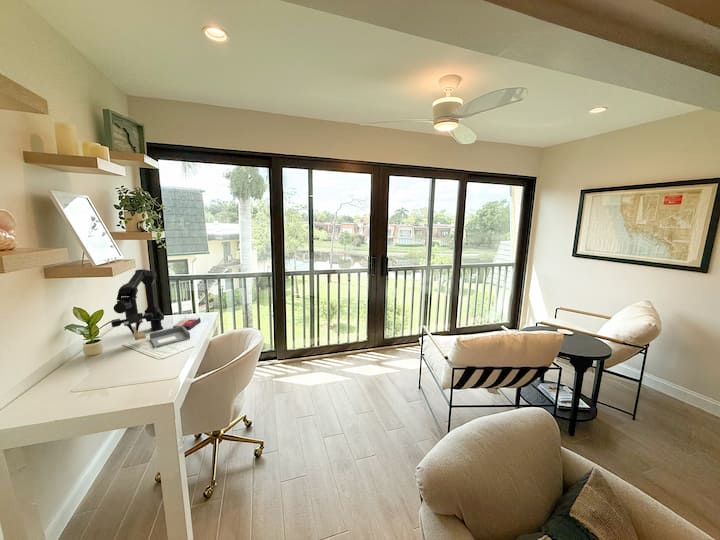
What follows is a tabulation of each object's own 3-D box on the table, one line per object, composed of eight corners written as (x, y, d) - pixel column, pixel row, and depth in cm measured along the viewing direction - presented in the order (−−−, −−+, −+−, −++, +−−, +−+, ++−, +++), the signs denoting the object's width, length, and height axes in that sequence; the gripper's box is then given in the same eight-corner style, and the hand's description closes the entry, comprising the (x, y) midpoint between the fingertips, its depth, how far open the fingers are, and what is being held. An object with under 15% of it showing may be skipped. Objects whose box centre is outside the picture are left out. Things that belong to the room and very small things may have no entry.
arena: (150, 339, 176) (149, 333, 176) (183, 331, 189) (183, 325, 188) (154, 348, 165) (153, 341, 164) (190, 338, 177) (189, 332, 176)
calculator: (172, 326, 189) (184, 317, 204) (173, 332, 190) (185, 322, 205) (189, 325, 190) (200, 316, 205) (190, 331, 191) (201, 322, 206)
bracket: (133, 336, 170) (132, 326, 169) (144, 333, 174) (142, 324, 173) (135, 340, 165) (133, 330, 164) (146, 337, 168) (144, 328, 167)
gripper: (110, 315, 153) (115, 342, 155) (153, 307, 165) (156, 333, 168) (109, 310, 161) (113, 336, 163) (149, 303, 173) (153, 327, 176)
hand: (135, 333), depth 168 cm, fingers closed on bracket
